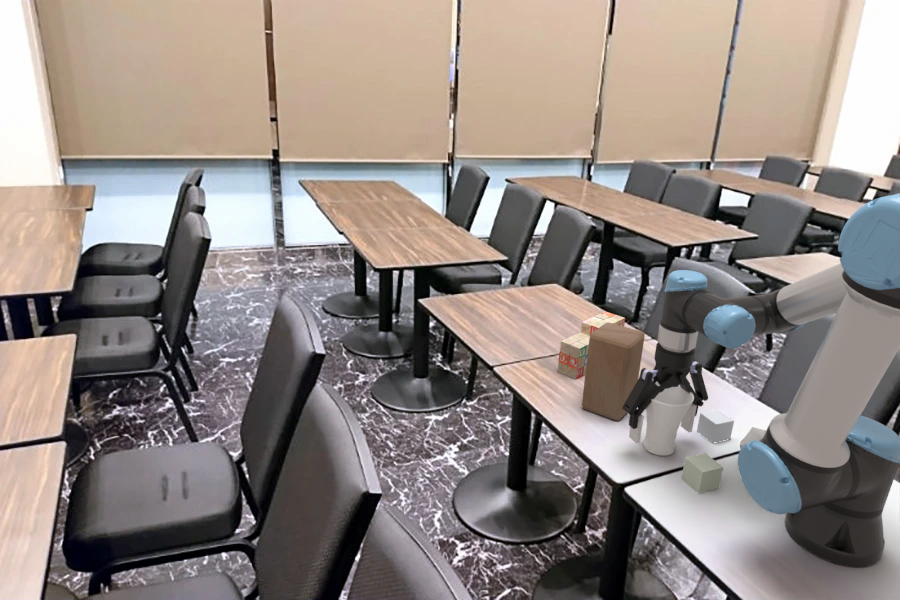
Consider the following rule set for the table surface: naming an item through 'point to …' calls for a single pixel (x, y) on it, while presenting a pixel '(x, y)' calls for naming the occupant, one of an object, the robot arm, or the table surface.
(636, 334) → the block
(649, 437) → the cup
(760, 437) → the grey block
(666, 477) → the table surface
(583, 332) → the stack of blocks
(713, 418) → the light gray cube
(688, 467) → the sage cube
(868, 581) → the table surface
